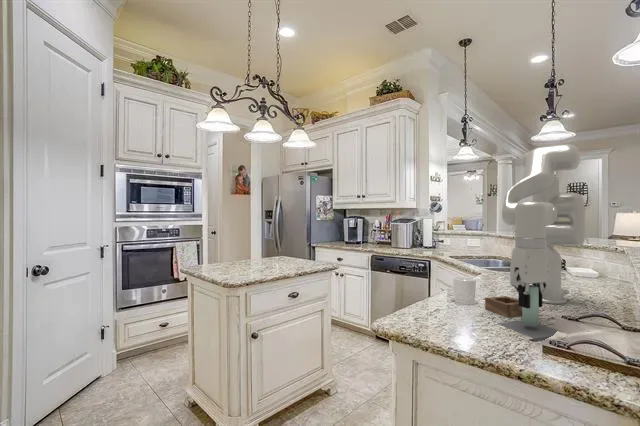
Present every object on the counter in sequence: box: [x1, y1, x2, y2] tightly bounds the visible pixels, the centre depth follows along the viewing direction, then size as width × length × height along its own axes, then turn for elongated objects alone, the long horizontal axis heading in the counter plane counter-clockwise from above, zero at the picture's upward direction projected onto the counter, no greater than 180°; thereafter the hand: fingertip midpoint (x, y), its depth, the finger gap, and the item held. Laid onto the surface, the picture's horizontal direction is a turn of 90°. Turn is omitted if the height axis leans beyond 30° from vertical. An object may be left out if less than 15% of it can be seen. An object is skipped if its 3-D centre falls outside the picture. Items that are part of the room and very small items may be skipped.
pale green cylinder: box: [521, 284, 540, 326], centre depth 92 cm, size 4×4×11 cm
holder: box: [484, 295, 522, 318], centre depth 107 cm, size 9×9×5 cm
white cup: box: [452, 276, 477, 306], centre depth 119 cm, size 8×8×10 cm
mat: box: [496, 319, 559, 343], centre depth 92 cm, size 12×12×1 cm
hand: (530, 305), depth 92 cm, fingers closed on pale green cylinder, 4 cm apart
